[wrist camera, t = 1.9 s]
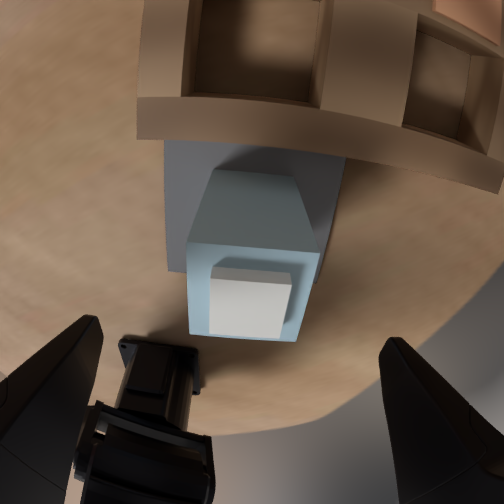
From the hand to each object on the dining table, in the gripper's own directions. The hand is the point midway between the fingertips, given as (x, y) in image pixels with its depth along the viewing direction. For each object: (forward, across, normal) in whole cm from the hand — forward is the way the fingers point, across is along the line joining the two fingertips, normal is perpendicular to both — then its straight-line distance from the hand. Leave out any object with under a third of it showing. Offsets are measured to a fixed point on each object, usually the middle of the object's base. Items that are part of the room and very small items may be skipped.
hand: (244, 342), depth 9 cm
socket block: (+9, -4, -10) cm, 14 cm away
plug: (+9, 0, 0) cm, 9 cm away
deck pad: (+9, 0, 0) cm, 9 cm away
